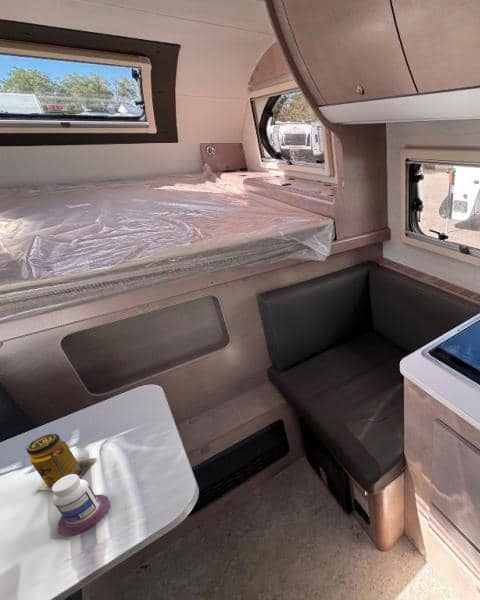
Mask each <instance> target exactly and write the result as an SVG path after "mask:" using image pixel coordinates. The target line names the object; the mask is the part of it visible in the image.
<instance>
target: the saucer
mask: <svg viewBox="0 0 480 600" xmlns="http://www.w3.org/2000/svg"><path fill="white" fill-rule="evenodd" d="M95 496H96V497H97V499H98V501H99V507H98V509H97V511H96V512H95V513H94V514H93V515H92V516H91V517H90V518H88V519H87V520H85V521H83V522H81V523H78V524H69V523H68V522H67V521H66V520H65V519H64V517H63V516H62V515H61V517H60V518H59V520H58V522H57V528H56V529H57V531H58V533H59V534H60V535H61V536H65V537H70V536H71V537H72V536H76V535H79V534H81V533H84V532H85V531H87V530H89V529H91V528H93V527H94V526H95V525H96V524H98V523H99V522H100V521H101V520H102V519H103V518H104V517H105V515H106V514H107V513H108V511H109V509H110V507H111V501H110V499H109V497H108V496H107V495H106V494H95Z"/></svg>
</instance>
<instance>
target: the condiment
mask: <svg viewBox="0 0 480 600" xmlns="http://www.w3.org/2000/svg"><path fill="white" fill-rule="evenodd" d="M26 452H27V454H28V456H29V461H30V463H31V465H32V466H33V467H34V468H35V470H36V471H37V473H38V474H39V476H40V478H41V479H42V480H43V483H42V484H41V485H40V486H39V487H38V488H36V491H52V486H53V485H54V484H55V483H56V482H57V481H58V480H59V479H61V478H63V477H65V476H67V475H70V474H76V475H78V477H79V478H80V479H81V477H82V476H83V475H84V473H85V472H86V471H87V470H88V469H89V468H90V467H91V466H92V465H93V463H94V462H95V461H96V460H98V457H92V458H91V457H88V458H76V457H75V455H74V454H73V453H72V450H71V449H70V448H69V446H68V444H67V442H66V441H65V440H63V439H62V438H61V437H60V435H58V434H57V433H48V434H44V435H42V436H40V437H39V436H38V437H37V438H35V439H34V440H32V442H30V443H29V444H28V445H27V446H26Z"/></svg>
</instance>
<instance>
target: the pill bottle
mask: <svg viewBox="0 0 480 600" xmlns="http://www.w3.org/2000/svg"><path fill="white" fill-rule="evenodd" d="M51 491H52V494H53V497H52V503H53V504H54V506H55V507H56V509H57V510H58V511H59V513H60V514H61V517H62V516H63V517H64V519H65V520H66V521H67V522H68V523H69V524H78V523H81V522H83V521H85V520H87V519H88V518H90V517H91V516H92V515H93V514H94V513H95V512H96V511H97V509H98V507H99V501H98V499H97V497H96V496H95V495H96V494H95V492H94V491H93V489H92V487H91V485H90V484H89V482H88V481H87V480H85V479H81V477H80V478H79V477H78V475H76V474H70V475H67V476H65V477H63V478H61V479H59V480H58V481H57V482H56V483H55V484H54V485H53V486H52V490H51Z"/></svg>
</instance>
